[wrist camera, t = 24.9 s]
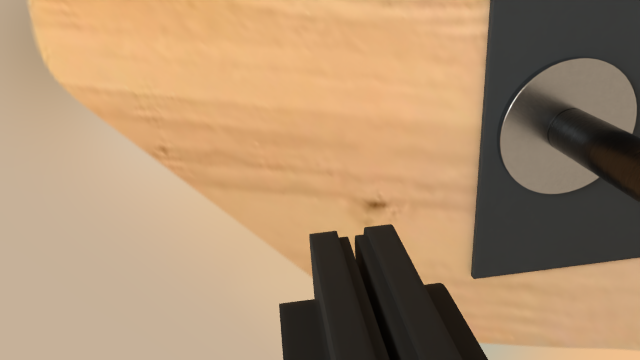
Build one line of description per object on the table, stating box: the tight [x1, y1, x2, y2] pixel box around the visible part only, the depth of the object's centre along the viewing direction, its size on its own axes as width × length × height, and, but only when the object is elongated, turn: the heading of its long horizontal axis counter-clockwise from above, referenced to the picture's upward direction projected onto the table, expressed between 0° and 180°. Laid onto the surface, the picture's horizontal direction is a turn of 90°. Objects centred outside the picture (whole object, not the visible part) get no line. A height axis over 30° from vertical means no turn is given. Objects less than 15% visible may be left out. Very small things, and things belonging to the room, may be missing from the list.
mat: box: [471, 0, 640, 279], centre depth 34 cm, size 20×20×1 cm
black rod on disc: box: [497, 56, 640, 203], centre depth 28 cm, size 9×9×10 cm
